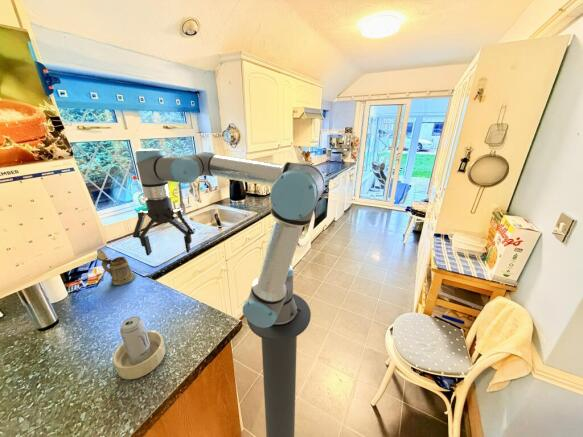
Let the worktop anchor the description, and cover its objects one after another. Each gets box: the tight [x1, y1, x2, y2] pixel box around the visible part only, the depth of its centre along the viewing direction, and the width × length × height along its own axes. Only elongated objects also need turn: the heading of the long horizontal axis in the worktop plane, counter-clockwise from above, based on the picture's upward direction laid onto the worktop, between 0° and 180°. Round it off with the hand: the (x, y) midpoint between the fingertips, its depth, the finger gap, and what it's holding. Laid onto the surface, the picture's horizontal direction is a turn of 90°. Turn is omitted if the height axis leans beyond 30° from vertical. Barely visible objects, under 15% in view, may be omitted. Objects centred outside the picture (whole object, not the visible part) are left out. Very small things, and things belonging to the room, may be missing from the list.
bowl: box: [112, 330, 166, 380], centre depth 74 cm, size 13×13×6 cm
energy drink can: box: [119, 316, 152, 365], centre depth 72 cm, size 6×6×15 cm
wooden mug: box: [96, 249, 135, 286], centre depth 110 cm, size 9×14×18 cm, turn 105°
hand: (169, 252), depth 87 cm, fingers open, 13 cm apart
